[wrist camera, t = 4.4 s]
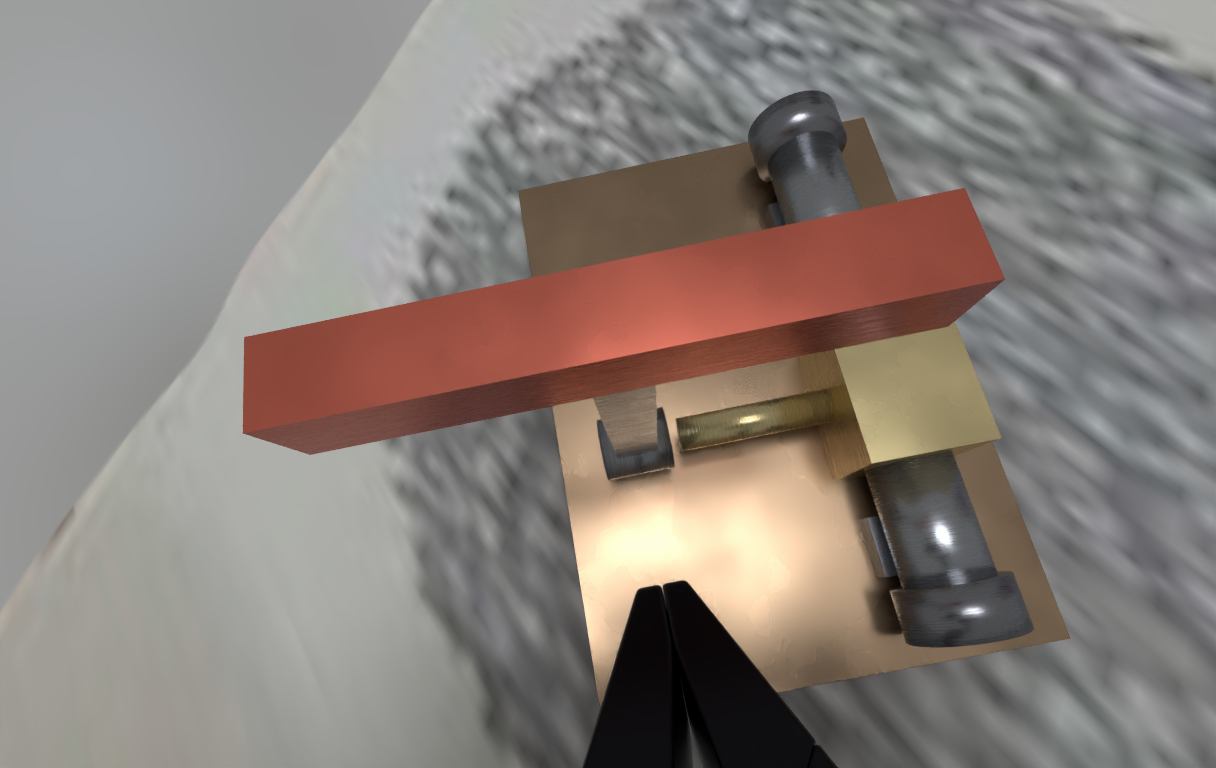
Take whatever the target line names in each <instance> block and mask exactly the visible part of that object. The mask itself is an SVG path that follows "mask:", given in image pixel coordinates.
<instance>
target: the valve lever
mask: <svg viewBox="0 0 1216 768" xmlns="http://www.w3.org/2000/svg"><path fill="white" fill-rule="evenodd" d="M1003 280H1005V278H1004V276H1003V273H1002V271H1001V269H1000V266H999V264H998V262H997V260H996V257H995V255H994V253H993V251H992V248H991V246H990V244H989V242H988V239H987V237H986V235H985V233H984V230H983V228H982V226H981V224H980V221H979V219H978V217H977V215H976V212H975V210H974V208H973V206H972V203H971V201H970V199H969V197H968V194H967V192H966V190H965V188H962V189H958V190H953V191H948V192H943V193H938V194H933V195H929V196H924V197H919V198H914V199H909V200H904V201H900V202H895V203H890V204H885V205H880V206H875V207H871V208H866V209H861V210H856V211H851V212H847V213H842V214H837V215H832V216H827V217H822V218H818V219H813V220H808V221H803V222H798V223H793V224H789V225H784V226H779V227H774V228H769V229H765V230H760V231H755V232H750V233H745V234H740V235H736V236H731V237H726V238H721V239H716V240H711V241H707V242H702V243H697V244H692V245H687V246H682V247H678V248H673V249H668V250H663V251H658V252H654V253H649V254H644V255H639V256H634V257H629V258H625V259H620V260H615V261H610V262H605V263H600V264H596V265H591V266H586V267H581V268H576V269H572V270H567V271H562V272H557V273H552V274H547V275H543V276H538V277H533V278H528V279H523V280H518V281H514V282H509V283H504V284H499V285H494V286H489V287H485V288H480V289H475V290H470V291H465V292H461V293H456V294H451V295H446V296H441V297H436V298H432V299H427V300H422V301H417V302H412V303H407V304H403V305H398V306H393V307H388V308H383V309H379V310H374V311H369V312H364V313H359V314H354V315H350V316H345V317H340V318H335V319H330V320H325V321H321V322H316V323H311V324H306V325H301V326H296V327H292V328H287V329H282V330H277V331H272V332H268V333H263V334H258V335H253V336H248V337H244V390H243V434H246V435H250V436H253V437H256V438H259V439H262V440H265V441H268V442H272V443H275V444H278V445H281V446H284V447H287V448H291V449H294V450H297V451H300V452H303V453H306V454H309V455H311V454H316V453H321V452H326V451H331V450H336V449H341V448H346V447H351V446H356V445H361V444H366V443H371V442H376V441H381V440H386V439H391V438H396V437H401V436H406V435H411V434H416V433H421V432H426V431H431V430H436V429H441V428H446V427H451V426H456V425H461V424H466V423H471V422H476V421H481V420H486V419H491V418H496V417H501V416H506V415H511V414H516V413H521V412H526V411H531V410H536V409H541V408H545V407H550V406H555V405H560V404H565V403H570V402H575V401H580V400H585V399H590V398H593V400H594V402H595V405H596V407H597V410H598V412H599V415H600V417H601V419H599V420H597V430H598V436H599V442H600V448H601V453H602V458H603V462H604V467H605V471H606V475H607V478H608V480H613V479H618V478H623V477H628V476H633V475H638V474H643V473H648V472H654V471H659V470H664V469H669V468H674V467H675V462H674V455H673V449H672V444H671V439H670V434H669V429H668V425H667V421H666V417H665V413H664V410H663V407H659V408H657V406H656V385H660V384H665V383H670V382H675V381H680V380H685V379H690V378H695V377H700V376H705V375H710V374H715V373H720V372H725V371H730V370H735V369H740V368H745V367H750V366H755V365H760V364H765V363H770V362H775V361H780V360H785V359H790V358H795V357H800V356H805V355H810V354H815V353H820V352H825V351H830V350H835V349H840V348H845V347H850V346H855V345H860V344H864V343H869V342H874V341H879V340H884V339H889V338H894V337H899V336H904V335H909V334H914V333H919V332H924V331H929V330H934V329H939V328H944V327H948V326H950V325H951V324H952V323H953V322H954V321H956V320H957V319H958V318H959V317H960V316H962V315H963V314H964V313H965V312H966V311H967V310H969V309H970V308H971V307H972V306H973V305H975V304H976V303H977V302H978V301H979V300H981V299H982V298H983V297H984V296H985V295H987V294H988V293H989V292H990V291H991V290H993V289H994V288H995V287H996V286H997V285H999V284H1000V283H1001V282H1002V281H1003Z"/></svg>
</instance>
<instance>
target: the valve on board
mask: <svg viewBox="0 0 1216 768" xmlns="http://www.w3.org/2000/svg"><path fill="white" fill-rule="evenodd" d="M518 192H519V199H520V205H521V211H522V218H523V224H524V230H525V237H526V243H527V249H528V256H529V262H530V268H531V275H532V278H533V277H538V276H543V275H547V274H552V273H557V272H562V271H567V270H572V269H576V268H581V267H586V266H591V265H596V264H600V263H605V262H610V261H615V260H620V259H625V258H629V257H634V256H639V255H644V254H649V253H654V252H658V251H663V250H668V249H673V248H678V247H682V246H687V245H692V244H697V243H702V242H707V241H711V240H716V239H721V238H726V237H731V236H736V235H740V234H745V233H750V232H755V231H760V230H765V229H769V228H774V227H779V226H784V225H789V224H793V223H798V222H803V221H808V220H813V219H818V218H822V217H827V216H832V215H837V214H842V213H847V212H851V211H856V210H861V209H866V208H871V207H875V206H880V205H885V204H890V203H895V202H897V200H896V197H895V195H894V192H893V190H892V187H891V185H890V182H889V180H888V177H887V175H886V172H885V170H884V167H883V165H882V162H881V160H880V157H879V155H878V152H877V150H876V147H875V144H874V142H873V139H872V137H871V134H870V132H869V129H868V127H867V124H866V122H865V119H864V118H860V119H855V120H850V121H845V122H841V119H840V116H839V114H838V111H837V108H836V106H835V103H834V101H833V99H832V98H831V97H830V96H829V95H828V94H826V93H824V92H820V91H803V92H798V93H794V94H792V95H789V96H786V97H784V98H782V99H780V100H778V101H776V102H775V103H773V104H772V105H770V106H769V107H768V108H766V109H765V110H764V111H763V112H762V113H761V114H760V115H759V116H758V117H757V118H756V120H755V121H754V122H753V124H752V126H751V128H750V130H749V134H748V142H746V143H742V144H737V145H732V146H727V147H723V148H718V149H713V150H709V151H704V152H699V153H694V154H690V155H685V156H680V157H675V158H671V159H666V160H661V161H657V162H652V163H647V164H642V165H638V166H633V167H628V168H624V169H619V170H614V171H609V172H605V173H600V174H595V175H590V176H586V177H581V178H576V179H572V180H567V181H562V182H557V183H553V184H548V185H543V186H539V187H534V188H529V189H524V190H520V191H518ZM656 406H657V408H659V407H663V410H664V413H665V417H666V421H667V425H668V429H669V434H670V439H671V444H672V449H673V455H674V462H675V467H674V468H669V469H664V470H659V471H654V472H648V473H643V474H638V475H633V476H628V477H623V478H618V479H613V480H608V478H607V475H606V471H605V467H604V462H603V458H602V453H601V448H600V442H599V436H598V430H597V420H599V419H601V417H600V415H599V412H598V410H597V407H596V405H595V402H594V400H593V398H590V399H585V400H580V401H575V402H570V403H565V404H560V405H555V406H552V408H553V414H554V420H555V427H556V433H557V439H558V446H559V452H560V458H561V465H562V471H563V477H564V484H565V490H566V496H567V503H568V509H569V515H570V522H571V528H572V534H573V541H574V547H575V553H576V560H577V566H578V572H579V579H580V585H581V591H582V598H583V604H584V610H585V617H586V623H587V629H588V636H589V642H590V648H591V655H592V661H593V667H594V674H595V680H596V686H597V693H598V699H599V705H600V708H601V705H602V701H603V698H604V695H605V692H606V688H607V685H608V682H609V679H610V675H611V672H612V669H613V666H614V662H615V659H616V656H617V653H618V649H619V646H620V643H621V640H622V636H623V633H624V630H625V626H626V623H627V620H628V617H629V613H630V610H631V607H632V604H633V600H634V597H635V594H636V592H637V590H638V589H640V588H644V587H649V586H654V585H659V586H661V587H663V585H664V584H665V583H670V582H675V581H680V580H685V581H687V582H688V583H689V584H690V585H691V587H692V588H693V589H694V590H695V591H696V593H697V594H698V595H699V596H700V598H701V599H702V600H703V601H704V603H705V604H706V605H707V606H708V608H709V609H710V610H711V611H712V613H713V614H714V615H715V616H716V618H717V619H718V620H719V621H720V622H721V624H722V625H723V626H724V627H725V629H726V630H727V631H728V632H729V634H730V635H731V636H732V637H733V639H734V640H735V641H736V642H737V644H738V645H739V646H740V647H741V649H742V650H743V651H744V652H745V653H746V655H747V656H748V657H749V658H750V660H751V661H752V662H753V663H754V665H755V666H756V667H757V668H758V670H759V671H760V672H761V673H762V675H763V676H764V677H765V678H766V680H767V681H768V682H769V683H770V685H771V686H772V687H773V688H774V689H775V691H776V692H782V691H787V690H792V689H798V688H803V687H809V686H814V685H820V684H825V683H830V682H836V681H841V680H847V679H852V678H858V677H863V676H868V675H874V674H879V673H885V672H890V671H896V670H901V669H906V668H912V667H917V666H923V665H928V664H934V663H939V662H944V661H950V660H955V659H961V658H966V657H972V656H977V655H982V654H988V653H993V652H999V651H1004V650H1010V649H1015V648H1020V647H1026V646H1031V645H1037V644H1042V643H1048V642H1053V641H1058V640H1064V639H1069V638H1070V636H1069V634H1068V631H1067V629H1066V626H1065V623H1064V621H1063V618H1062V616H1061V613H1060V611H1059V608H1058V606H1057V603H1056V601H1055V598H1054V596H1053V593H1052V591H1051V588H1050V586H1049V583H1048V581H1047V578H1046V576H1045V573H1044V571H1043V568H1042V566H1041V563H1040V560H1039V558H1038V555H1037V553H1036V550H1035V548H1034V545H1033V543H1032V540H1031V538H1030V535H1029V533H1028V530H1027V528H1026V525H1025V523H1024V520H1023V518H1022V515H1021V513H1020V510H1019V508H1018V505H1017V502H1016V500H1015V497H1014V495H1013V492H1012V490H1011V487H1010V485H1009V482H1008V480H1007V477H1006V475H1005V472H1004V470H1003V467H1002V465H1001V462H1000V460H999V457H998V455H997V452H996V450H995V447H994V444H993V441H996V440H998V439H1001V438H1002V437H1001V435H1000V432H999V430H998V427H997V425H996V422H995V420H994V417H993V415H992V413H991V410H990V408H989V405H988V403H987V400H986V398H985V395H984V393H983V390H982V388H981V385H980V383H979V380H978V378H977V375H976V373H975V370H974V368H973V365H972V363H971V360H970V358H969V355H968V353H967V350H966V348H965V345H964V343H963V340H962V338H961V336H960V333H959V331H958V328H957V326H956V323H955V321H954V322H953V323H952V324H951V325H950V326H948V327H944V328H939V329H934V330H929V331H924V332H919V333H914V334H909V335H904V336H899V337H894V338H889V339H884V340H879V341H874V342H869V343H864V344H860V345H855V346H850V347H845V348H840V349H835V350H830V351H825V352H820V353H815V354H810V355H805V356H800V357H795V358H790V359H785V360H780V361H775V362H770V363H765V364H760V365H755V366H750V367H745V368H740V369H735V370H730V371H725V372H720V373H715V374H710V375H705V376H700V377H695V378H690V379H685V380H680V381H675V382H670V383H665V384H660V385H656ZM662 590H663V588H662ZM663 595H664V594H663ZM664 600H665V599H664ZM665 605H666V604H665ZM679 675H680V674H679ZM680 680H681V679H680ZM681 685H682V684H681ZM682 690H683V689H682ZM683 695H684V694H683ZM684 700H685V699H684ZM685 705H686V703H685ZM686 709H687V708H686Z"/></svg>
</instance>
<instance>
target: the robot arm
mask: <svg viewBox="0 0 1216 768" xmlns="http://www.w3.org/2000/svg"><path fill="white" fill-rule="evenodd" d="M662 588H663V590H662ZM663 594H664V595H663ZM664 599H665V600H664ZM665 604H666V605H665ZM679 674H680V675H679ZM680 679H681V680H680ZM681 684H682V685H681ZM682 689H683V690H682ZM683 694H684V695H683ZM684 699H685V700H684ZM685 703H686V705H685ZM686 708H687V710H686ZM687 713H688V716H687ZM688 717H689V721H690V725H691V729H692V732H693V736H694V739H695V742H696V745H697V748H698V752H699V755H700V758H701V761H702V764H703V767H704V768H838V767H837V766H836V765H835V764H834V762H833V761H832V760H831V759H830V757H829V756H828V755H827V754H826V752H825V751H824V750H823V749H822V747H821V746H820V745H816V741H815V739H814V738H813V737H812V735H811V734H810V733H809V732H808V730H807V729H806V728H805V727H804V725H803V724H802V723H801V722H800V720H799V719H798V718H797V717H796V716H795V714H794V713H793V712H792V711H791V709H790V708H789V707H788V706H787V704H786V703H785V702H784V701H783V699H782V698H781V697H780V696H779V694H778V693H777V692H776V691H775V689H774V688H773V687H772V686H771V685H770V683H769V682H768V681H767V680H766V678H765V677H764V676H763V675H762V673H761V672H760V671H759V670H758V668H757V667H756V666H755V665H754V663H753V662H752V661H751V660H750V658H749V657H748V656H747V655H746V653H745V652H744V651H743V650H742V649H741V647H740V646H739V645H738V644H737V642H736V641H735V640H734V639H733V637H732V636H731V635H730V634H729V632H728V631H727V630H726V629H725V627H724V626H723V625H722V624H721V622H720V621H719V620H718V619H717V618H716V616H715V615H714V614H713V613H712V611H711V610H710V609H709V608H708V606H707V605H706V604H705V603H704V601H703V600H702V599H701V598H700V596H699V595H698V594H697V593H696V591H695V590H694V589H693V588H692V587H691V585H690V584H689V583H688V582H687V581H685V580H680V581H675V582H670V583H665V584H664V585H663V587H661V586H659V585H654V586H649V587H644V588H640V589H638V590H637V592H636V594H635V597H634V600H633V604H632V607H631V610H630V613H629V617H628V620H627V623H626V626H625V630H624V633H623V636H622V640H621V643H620V646H619V649H618V653H617V656H616V659H615V662H614V666H613V669H612V672H611V675H610V679H609V682H608V685H607V688H606V692H605V695H604V698H603V701H602V705H601V708H600V711H599V714H598V718H597V721H596V724H595V727H594V731H593V734H592V737H591V741H590V744H589V747H588V750H587V754H586V757H585V760H584V763H583V767H582V768H693V764H692V752H691V740H690V731H689V722H688Z"/></svg>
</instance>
